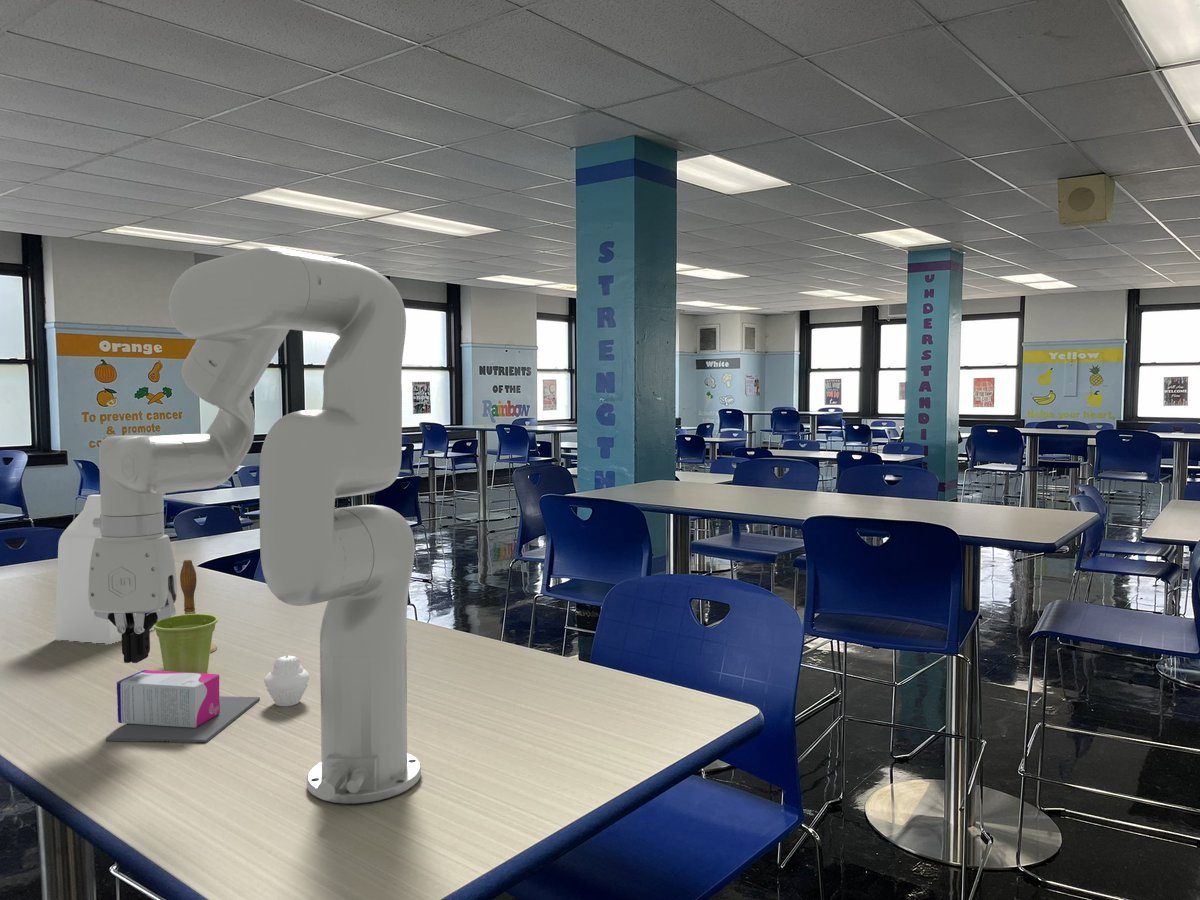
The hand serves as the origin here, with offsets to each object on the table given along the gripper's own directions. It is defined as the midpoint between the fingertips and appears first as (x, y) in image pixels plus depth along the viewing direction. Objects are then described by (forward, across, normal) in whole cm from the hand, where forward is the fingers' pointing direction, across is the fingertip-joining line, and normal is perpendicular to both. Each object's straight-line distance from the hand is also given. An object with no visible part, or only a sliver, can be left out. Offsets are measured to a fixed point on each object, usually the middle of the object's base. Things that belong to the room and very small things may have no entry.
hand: (136, 659), depth 118 cm
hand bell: (+8, -9, +32) cm, 34 cm away
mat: (+8, +7, 0) cm, 11 cm away
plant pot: (+8, -3, +19) cm, 21 cm away
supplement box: (+5, -1, 0) cm, 5 cm away
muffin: (+8, +18, +7) cm, 21 cm away
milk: (+8, -30, +42) cm, 52 cm away
